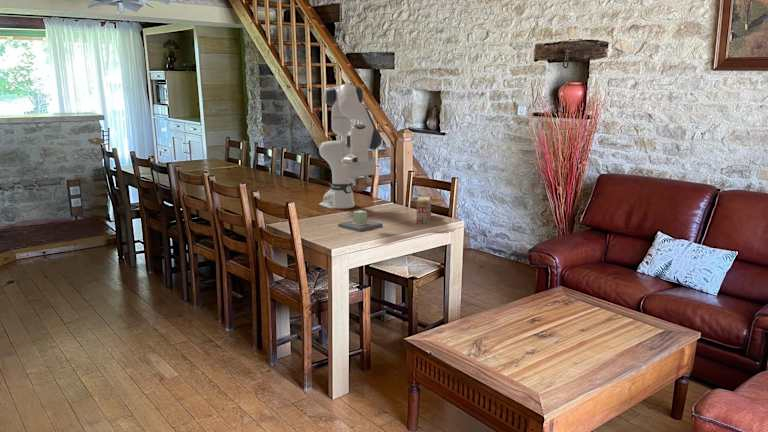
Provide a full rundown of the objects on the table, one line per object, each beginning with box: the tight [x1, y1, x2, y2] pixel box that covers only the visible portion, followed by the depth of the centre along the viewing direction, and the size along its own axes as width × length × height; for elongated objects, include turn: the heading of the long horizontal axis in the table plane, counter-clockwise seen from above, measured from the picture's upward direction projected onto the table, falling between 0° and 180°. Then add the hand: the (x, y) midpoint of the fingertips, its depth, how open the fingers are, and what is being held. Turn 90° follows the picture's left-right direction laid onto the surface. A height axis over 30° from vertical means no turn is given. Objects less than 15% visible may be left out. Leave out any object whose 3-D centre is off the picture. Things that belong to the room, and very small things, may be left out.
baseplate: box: [337, 219, 383, 232], centre depth 314 cm, size 16×16×2 cm
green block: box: [352, 209, 368, 225], centre depth 313 cm, size 5×5×6 cm
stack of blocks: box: [415, 196, 432, 225], centre depth 328 cm, size 21×6×12 cm, turn 172°
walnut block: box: [352, 176, 368, 192], centre depth 309 cm, size 5×5×6 cm
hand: (359, 185), depth 309 cm, fingers closed on walnut block, 5 cm apart
